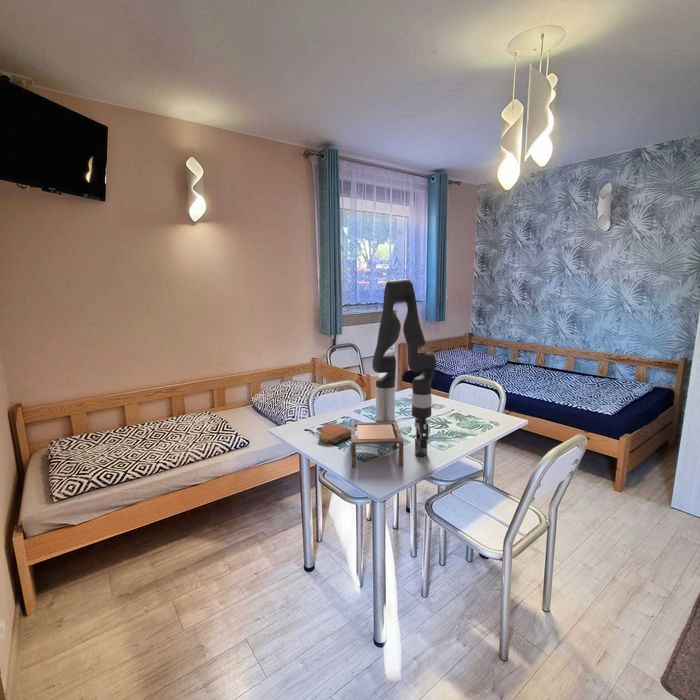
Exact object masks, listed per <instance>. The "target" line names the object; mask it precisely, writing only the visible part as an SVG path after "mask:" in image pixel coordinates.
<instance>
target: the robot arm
mask: <svg viewBox="0 0 700 700" xmlns="http://www.w3.org/2000/svg"><path fill="white" fill-rule="evenodd" d="M383 293H384V294H383V301H382V302H383V303H382V314H381V317H380V318H381V319H380V323H379V329H378V335H377V341H376V347H375V350H374V354H373V357H372V358H373V359H372V365H371V366H372V369H373V372H375V373H378V374H385V373H386V374H385V375H383V376H382V377H380V378H378V379H376V380H375V420H376V421H377V422H395V419H396V418H395V417H396V415H395V414H396V412H395V411H396V408H395V407H396V406H395V405H396V370H397V369H396V368H397V360H396V355H395V354H394V353H391V352H390V353H386V352H388V350H389V349H390V348H392V347H393V345H395V344H396V343H397V341H398V340H399V336H400V332H401V328H402V329H403V335H404V338H405V341H406V342H405V343H406V347H407V365H408V368H409V369H410V371H412V373H413V372H414V373H421V374H420V375H418V376H416V377H414V378H413V380H412V393H411V394H412V395H411V416H412V417H414V426H415V431H416V433H415V434H416V435H415V436H416V438H420V447H421V449H425V448H426V440H427V441H429V423H428V421H427V419H429V418H431V417H432V408H433V407H432V406H433V405H432V403H433V402H432V399H433V398H432V382H433V378H434V374H435V371H436V367H437V359H436V356H435V355H434V353H432V352H428V351H427V352H420V353H419V351H418V350H420V349H422V348H424V347H425V345H426V340H425V335H424V333H423V332H424V331H423V330H422V326H421V324H420V323H421V322H420V319H419V318H420V317H419V312H418V304H417V299H416V294H415V288H414V285H413V282H412V281H411V279H408V278H404V279H403V278H400V279H391V280H388V281H387V282H386V283H385V286H384V291H383ZM404 302H405V304H406V306H407V311H406V316H405V319H404V322H403V327H402V326H401V324H402V323H401V322H400V319H399V318H398V315H397V314H396V313H395V310H394V305H395V304H397V303H404ZM416 438H415V439H416Z"/></svg>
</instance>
